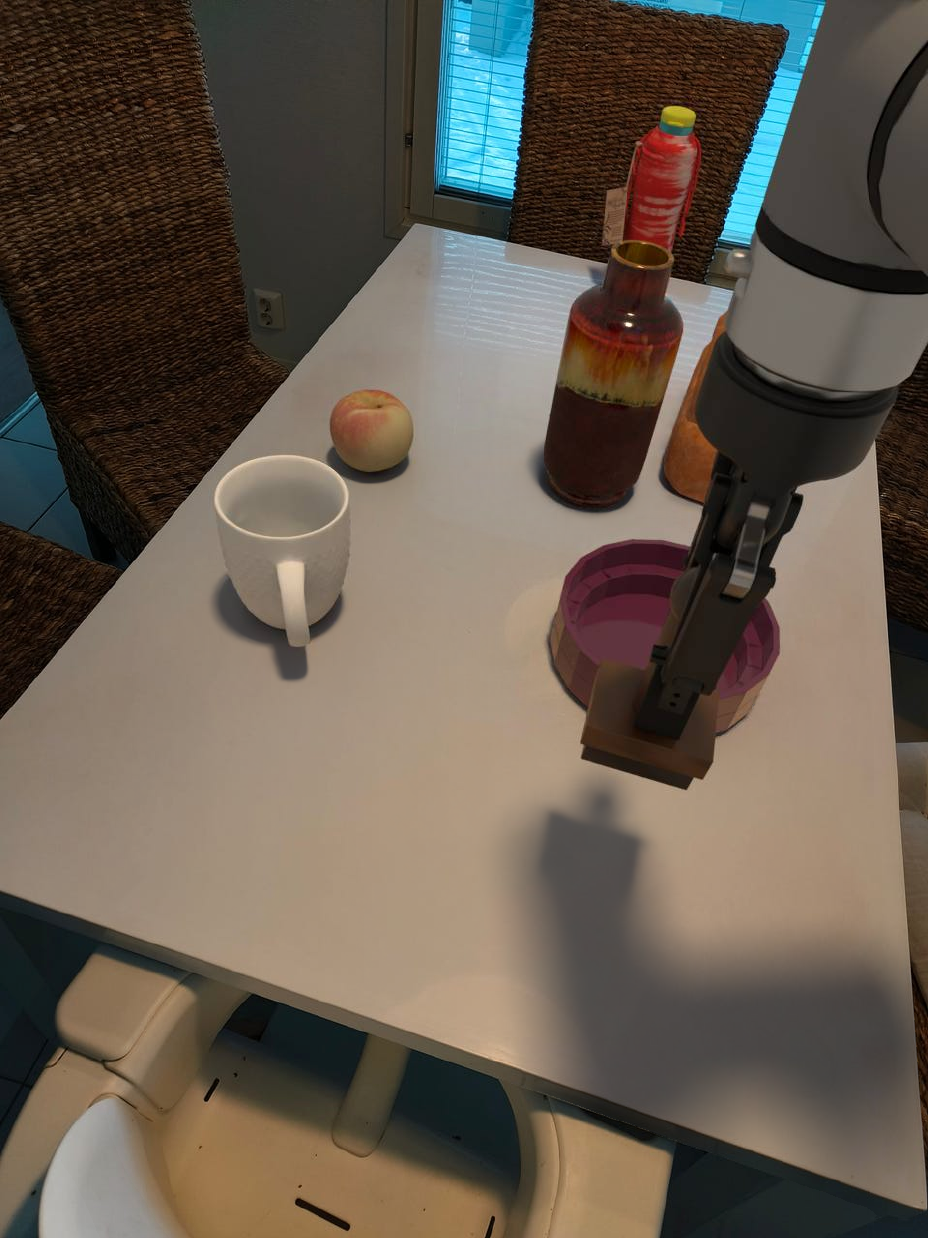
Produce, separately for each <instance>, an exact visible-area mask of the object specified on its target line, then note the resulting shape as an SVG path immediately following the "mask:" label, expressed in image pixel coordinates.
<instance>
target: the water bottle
mask: <svg viewBox="0 0 928 1238" xmlns="http://www.w3.org/2000/svg"><path fill="white" fill-rule="evenodd" d="M661 111H662V112H661V116H660V121H659V124H658V125H656V126H655V128H654V129H651V130H649V131H648V132H647V134H645V135H644V136H643V137H642V138H641V139H640V140H636V142H635V149H634V152H633V156H632V159H631V163H630V168H629V172H628V176H627V181H626V185H625V186H621V187H618V188H613V189H609V190H607V191H606V200H605V211H604V220H603V231H602V242H601V246H608V247H612V246H613V245H614V244H616V243H618V242H620V241H625V240H640V241H646V242H651V243H654V244H657V245H660V246H662V247H664V248H665V249H667V250H668V251H670V253H671V254H672V252H673V248H674V247H673V246H674V242H675V237H676V233H677V232H676V231H677V228H678V224H679V221H680V226H679V230H678V233H677V234H678V236H679V237H680V238H682V236H683V233H684V231H685V226H686V216H687V214H688V213H689V212H690V208H691V204H692V201H693V197H694V194H695V190H696V187H697V180H698V176H699V172H700V166H701V161H702V147H701V143H700V141H699V139H698V138H697V137H696V136H695V133H694V130H693V128H694V125H695V122H696V118H697V114H696V113H695V111H693V110H692V109H690V108H687V107H683V106H678V105H671V106H670V105H669V106H666V107H664V108H663V109H662V110H661ZM632 188H633V189H632ZM632 190H633V191H632ZM631 191H632V199H631V205H630V209H629V207H628V205H629V201H630V197H631ZM683 207H684V208H683ZM682 210H683V213H682ZM628 213H629V214H628ZM681 213H682V216H681Z"/></svg>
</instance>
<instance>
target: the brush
mask: <svg viewBox="0 0 928 1238" xmlns="http://www.w3.org/2000/svg"><path fill="white" fill-rule="evenodd" d="M697 568H698V566H695V567H692V568H690V569H688V570H686V571H685V572H683V573H682V574H681V575H680V576H679V577H678V578H677V579H676V581H675V582H674V584H673V586H672V588H671V592H670V607H671V610H670V613H669V615H668V618H667V620H666V622H665V625H664V627H663V630H662V632H661V634H660V637H659V639H658V641H657V644H656V645H660V646H664V645H665V646H669V643H670V641H671V638H672V635H673V633H674V630H675V627H676V625H677V622H678V619H679V616H680V614H681V611H682V608H683V606H684V603H685V600H686V598H687V595H688V592H689V590H690V587H691V584H692V582H693V579H694V576H695V574H696V571H697ZM655 667H656V663H653V662H650V661H649V663H648V665H647V668H646V670H642V669H639V668H635V667H632V666H628V665H625V664H621V663H618V662H614V661H611V660H607V659H604V658H602V659H601V662H600V665H599V668H598V671H597V673H596V676H595V680H594V684H593V689H592V693H591V697H590V702H589V706H588V707H587V710H586V715H585V720H584V724H583V728H582V732H581V738H580V741H579V742H580V745H582V750H581V753H580V754H581V756H580V759H581V760H583V761H586V762H590V763H593V764H596V765H600V766H603V767H606V768H609V769H613V770H617V771H620V772H623V773H627V774H629V775H633V776H637V777H640V778H643V779H646V780H650V781H653V782H657V783H660V784H663V785H667V786H670V787H673V788H677V789H680V790H684V791H688V789H689V787H691V785H692V782H693V781H694V779H697V780H701V781H702V780H704V779H705V778H706V775H707V773H708V772H709V770H710V768H712V765H713V764H714V759H715V747H716V739H717V738H716V737H717V733H716V727H717V716H718V705H719V695H720V692H719V691H716V690H713V692H712V694H711V695H710V696H706V695H703V694H700V696H699V698H698V700H697V702H696V704H695V707H694V709H693V711H692V713H691V715H690V717H689V719H688V722H687V724H686V726H685V728H684V730H683V732H682V734H681V737H680V739H679V740H676V739H673V738H669V737H666V736H663V735H659V734H656V733H653V732H649V731H646V730H643V729H639V728H636V727H634V723H635V718H636V715H637V713H638V710H639V708H640V705H641V702H642V700H643V697H644V695H645V692H646V690H647V687H648V685H649V682H650V679H651V677H652V674H653V672H654V669H655Z"/></svg>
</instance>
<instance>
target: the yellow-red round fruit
mask: <svg viewBox="0 0 928 1238" xmlns="http://www.w3.org/2000/svg"><path fill="white" fill-rule="evenodd" d="M329 433H330V438H331V441H332V444H333V446H334V448H335V451H336V452H337V454H338V456H339V458H340V459H341V460H342V461H343V462H344V463H345V464H346V465H348V466H349V467H351V468H353V469H355V470H358V471H361V472H367V473H372V472H379V471H384V470H387V469H391V468H392V467H394V466H396V465H398V464H400V463H401V462H402V461H403V460H404V459H405V458H406V456H407V455H408V454H409V451H410V450H411V448H412V444H413V441H414V422H413V418H412V415H411V412H410V410H409V409H408V407H407V406H406V405H405V404H404V403H403V401H401V400H400V398H398V397H397V396H395V395H394V394H393V393H390V392H387V391H384V390H382V389H381V390H380V389H361V390H360V389H359V390H357V391H354V392H351V393H349V394H347V395H345V396H343V397H342V398H341V399H339V400H338V401H337V402H336V404H335V405H334V407H333V409H332V411H331V414H330V418H329Z"/></svg>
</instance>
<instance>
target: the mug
mask: <svg viewBox="0 0 928 1238" xmlns="http://www.w3.org/2000/svg"><path fill="white" fill-rule="evenodd" d="M213 504H214V511H215V518H216V519H215V521H216V525H217V527H216V528H217V533H218V536H219V544H220V548H221V550H222V551H221V552H222V557H223V558H224V566H225V568H226V569H227V575H228V577H229V578H230V580H231V583H232V586H233V588H234V589H235V591H236V593H237V595H238V597H239V598H240V600H241V602H242V603H243V604H244V606H245V607H246V608H247V610H248V611H249V612H250V613H252V614H253V615H254V616H255V617H256V618H257V619H259V620H260V621H261V622H262V623H264V624H266V625H268V626H270V627H273V628H276V629H279V630H285V632H286V636H287V641H288V644H289V645H290V646H291V647H294V648H301V647H306V646H308V645H310V644H311V635H310V628H309V627H310V626H312V625H314V624H316V623H317V622H318V621H320V620H321V619H322V618H323V617H325V616H326V614H327V613H329V611H330V610H331V608H332V607H333V606H334V604H335V602H336V601H337V599H338V598H339V596H340V593H341V592H342V587H343V585H344V584H345V578H346V576H347V573H348V572H347V571H348V566H349V557H350V555H351V554H350V548H351V512H350V492H349V489H348V486H347V484H346V482H345V480H344V479H343V478H342V476H341V475H340V474H339V473H338V472H337V471H336V470H335V469H334V468H332V467H330V466H329V465H327V464H325V463H323V462H321V461H319V460H317V459H314V458H310V457H305V456H303V455H302V456H301V455H296V454H295V455H294V454H278V455H267V456H262V457H258V458H254V459H251V460H248V461H245V462H243V463H241V464H239V465H237V466H235V467H233V468H232V469H230V471H228V472H227V473H226V474H225V475H224V476H223V477H222V478H221V479H220V480H219V482H218V483H217V486H216V488H215V490H214V495H213Z"/></svg>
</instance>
